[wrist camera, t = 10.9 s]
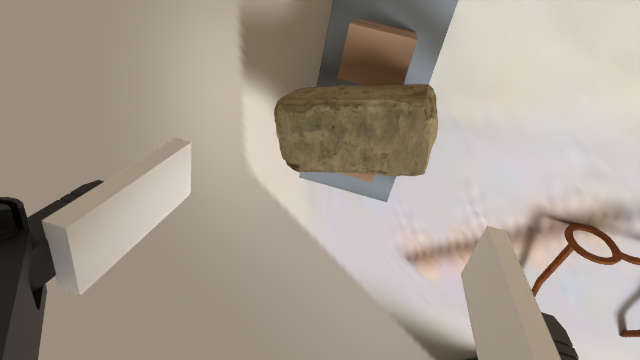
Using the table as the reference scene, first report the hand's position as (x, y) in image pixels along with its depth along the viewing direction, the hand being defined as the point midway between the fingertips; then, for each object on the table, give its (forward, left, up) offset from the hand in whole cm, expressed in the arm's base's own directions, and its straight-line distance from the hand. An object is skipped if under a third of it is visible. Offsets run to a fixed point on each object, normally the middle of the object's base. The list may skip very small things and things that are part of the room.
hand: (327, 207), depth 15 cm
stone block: (-1, 0, -15) cm, 15 cm away
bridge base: (0, 0, -22) cm, 22 cm away
